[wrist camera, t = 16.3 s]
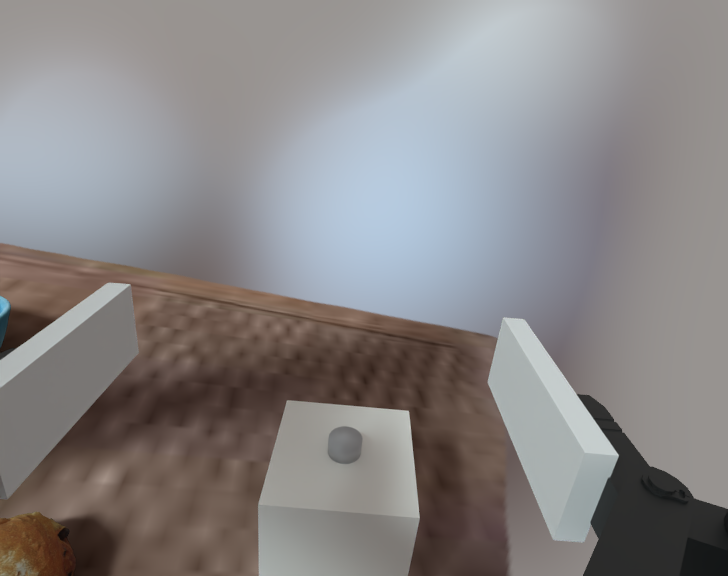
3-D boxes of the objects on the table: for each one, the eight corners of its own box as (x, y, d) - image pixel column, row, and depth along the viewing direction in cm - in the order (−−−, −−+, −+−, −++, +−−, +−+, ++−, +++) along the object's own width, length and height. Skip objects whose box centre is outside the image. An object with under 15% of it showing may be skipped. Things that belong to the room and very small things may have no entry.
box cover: (259, 604, 32) (258, 490, 27) (284, 488, 41) (287, 388, 36) (399, 615, 32) (422, 504, 28) (394, 497, 41) (410, 399, 37)
